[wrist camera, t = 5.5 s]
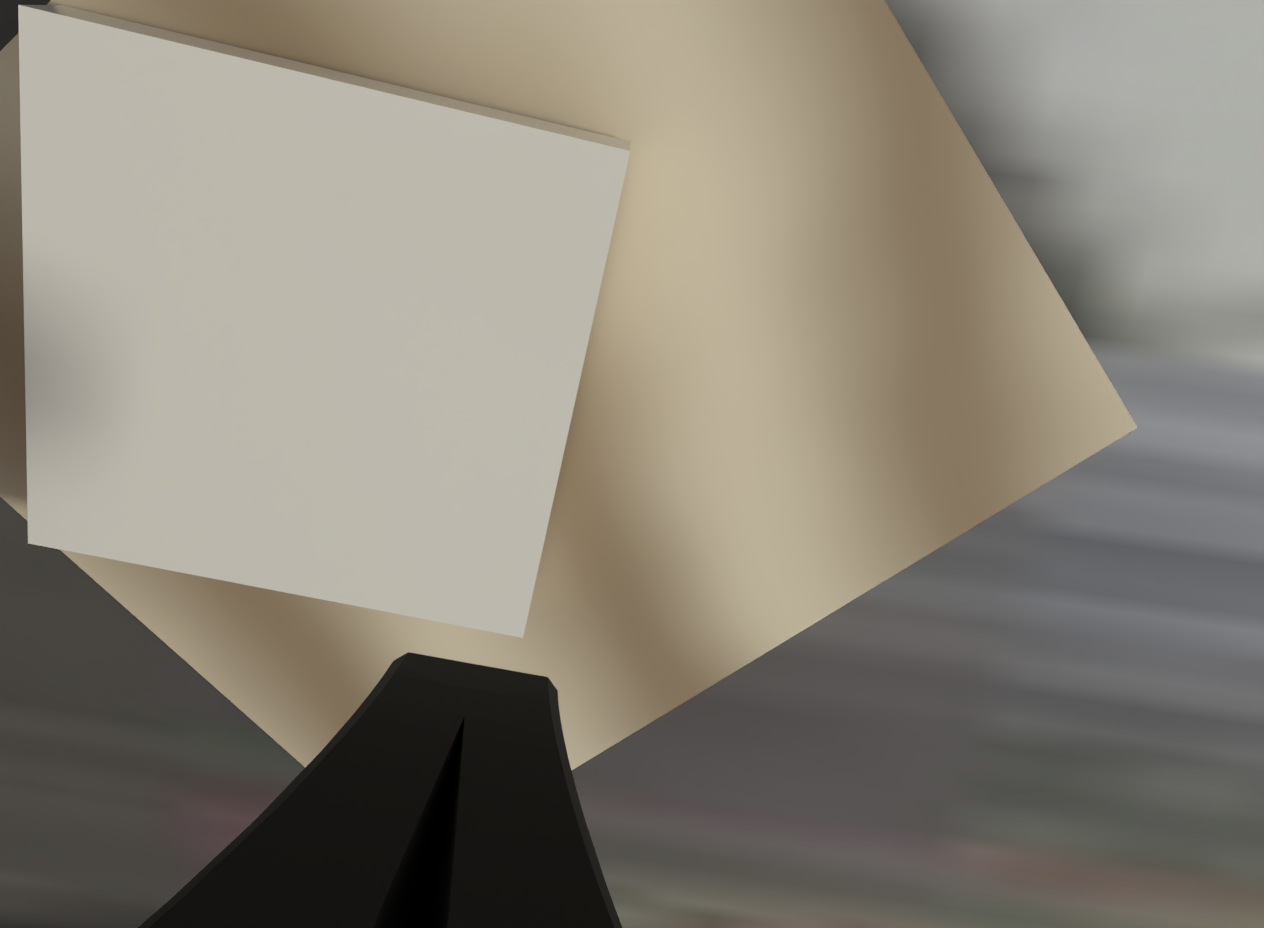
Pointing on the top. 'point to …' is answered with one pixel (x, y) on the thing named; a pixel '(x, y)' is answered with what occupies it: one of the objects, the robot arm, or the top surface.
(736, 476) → the board
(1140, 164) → the top surface
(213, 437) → the tile
